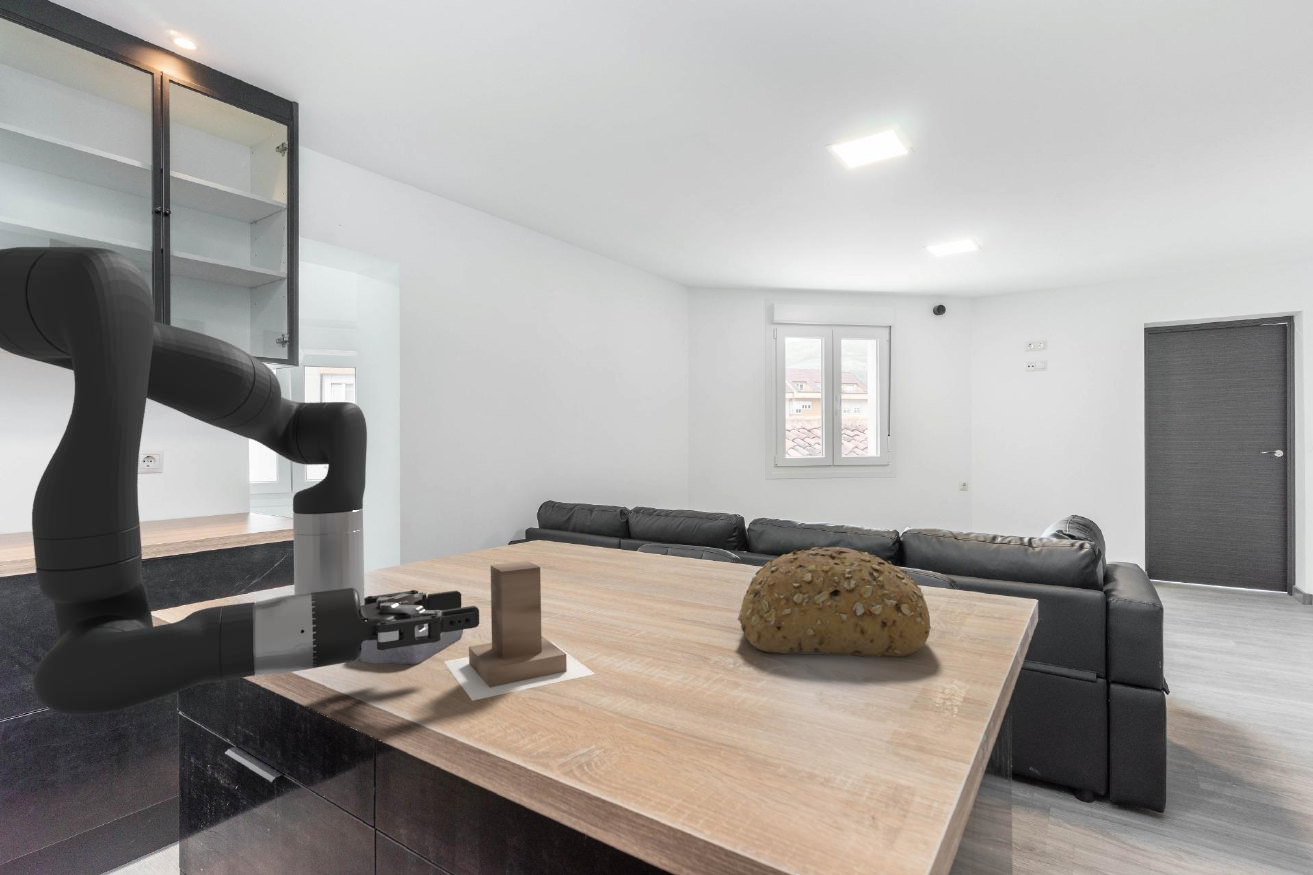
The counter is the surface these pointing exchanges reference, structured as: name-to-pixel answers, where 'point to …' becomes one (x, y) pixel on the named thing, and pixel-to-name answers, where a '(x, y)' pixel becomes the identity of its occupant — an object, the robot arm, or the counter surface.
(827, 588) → the bread
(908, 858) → the counter surface
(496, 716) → the counter surface
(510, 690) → the tile
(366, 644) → the stone block
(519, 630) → the walnut stamp
